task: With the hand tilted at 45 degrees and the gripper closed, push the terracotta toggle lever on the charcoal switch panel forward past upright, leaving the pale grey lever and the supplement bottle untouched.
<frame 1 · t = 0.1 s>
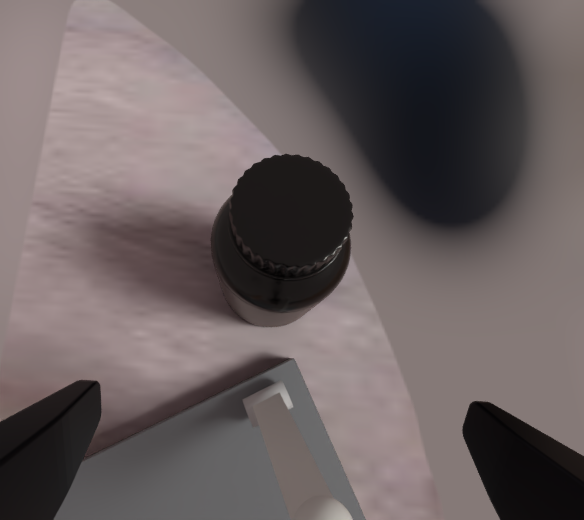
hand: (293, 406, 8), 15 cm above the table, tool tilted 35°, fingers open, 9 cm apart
supplement bottle: (270, 279, 24), on the table
pale grey lever: (289, 454, 15), point 7 cm above the table, hinge at -25.0°
switch panel: (209, 499, 20), on the table
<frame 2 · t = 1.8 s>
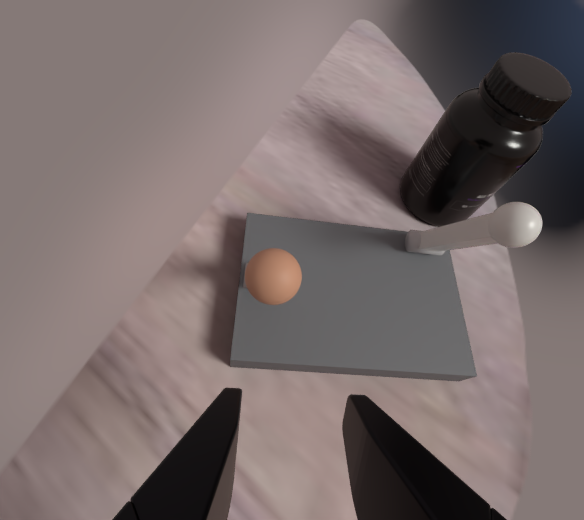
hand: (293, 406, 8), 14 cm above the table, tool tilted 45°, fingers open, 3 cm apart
supplement bottle: (432, 199, 31), on the table
terracotta lever: (267, 276, 17), point 7 cm above the table, hinge at -25.0°
pale grey lever: (462, 235, 20), point 7 cm above the table, hinge at -25.0°
switch panel: (345, 299, 25), on the table
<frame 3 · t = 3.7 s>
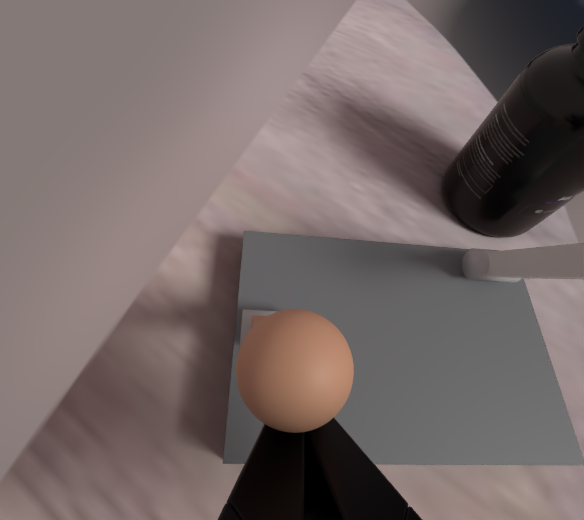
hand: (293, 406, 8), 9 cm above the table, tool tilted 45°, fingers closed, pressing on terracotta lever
supplement bottle: (483, 201, 24), on the table
terracotta lever: (277, 341, 10), point 7 cm above the table, hinge at -20.8°, touching gripper
pale grey lever: (568, 262, 14), point 7 cm above the table, hinge at -25.0°
switch panel: (383, 346, 18), on the table
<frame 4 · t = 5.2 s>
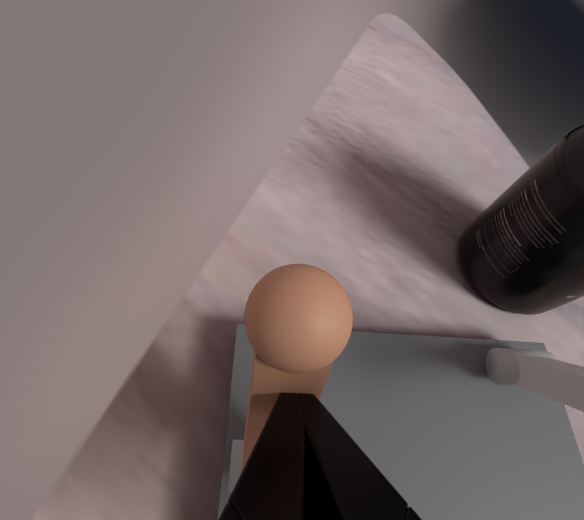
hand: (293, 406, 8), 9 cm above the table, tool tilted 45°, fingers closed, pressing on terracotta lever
supplement bottle: (502, 267, 22), on the table
terracotta lever: (277, 409, 10), point 7 cm above the table, hinge at 21.3°, touching gripper
switch panel: (394, 457, 16), on the table
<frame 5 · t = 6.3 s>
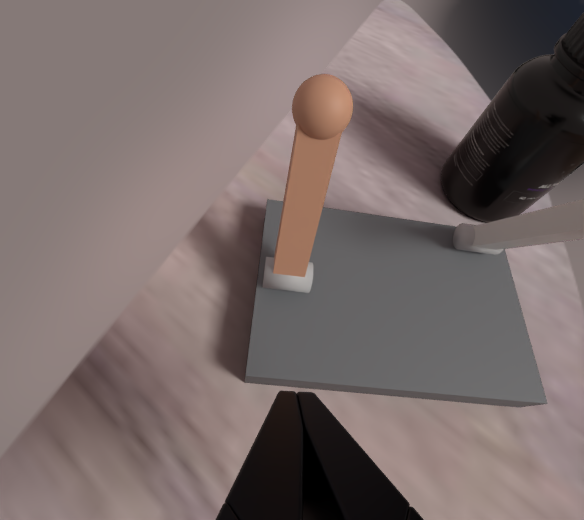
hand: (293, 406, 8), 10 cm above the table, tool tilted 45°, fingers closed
supplement bottle: (476, 192, 27), on the table
terracotta lever: (302, 203, 15), point 7 cm above the table, hinge at 21.5°
pale grey lever: (536, 228, 16), point 7 cm above the table, hinge at -25.0°
switch panel: (381, 304, 21), on the table
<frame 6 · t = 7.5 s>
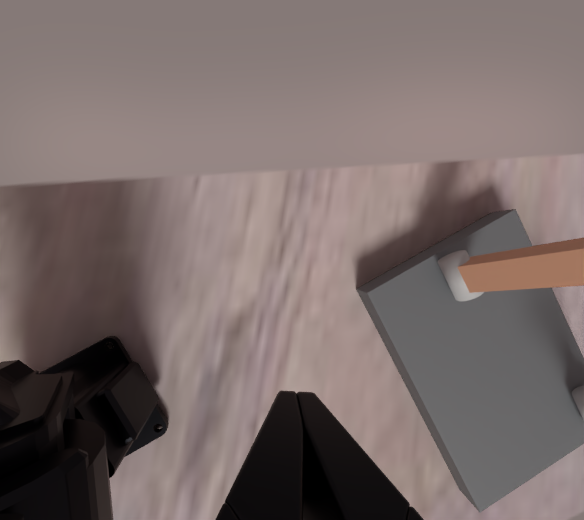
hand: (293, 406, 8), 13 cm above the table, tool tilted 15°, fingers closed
terracotta lever: (544, 265, 15), point 7 cm above the table, hinge at 21.5°
switch panel: (475, 352, 23), on the table
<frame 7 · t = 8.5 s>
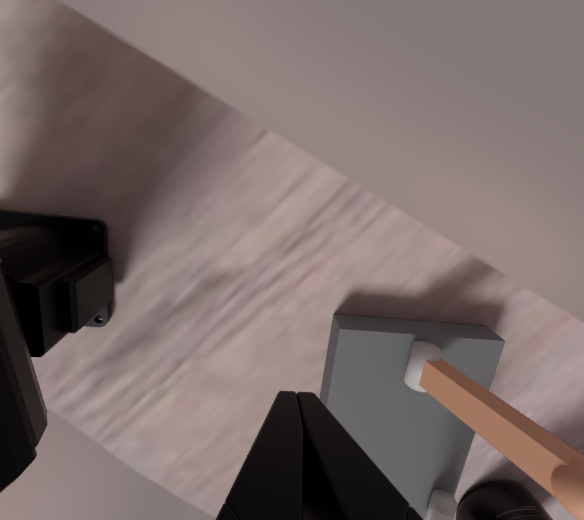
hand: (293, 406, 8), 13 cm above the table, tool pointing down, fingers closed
supplement bottle: (490, 506, 28), on the table
terracotta lever: (489, 416, 16), point 7 cm above the table, hinge at 21.5°
switch panel: (388, 416, 25), on the table
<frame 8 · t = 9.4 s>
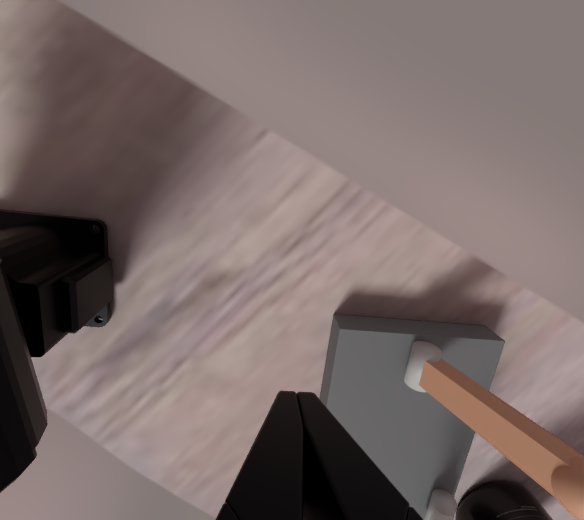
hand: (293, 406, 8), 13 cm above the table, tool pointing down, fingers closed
supplement bottle: (490, 506, 28), on the table
terracotta lever: (489, 416, 16), point 7 cm above the table, hinge at 21.5°
switch panel: (388, 416, 25), on the table
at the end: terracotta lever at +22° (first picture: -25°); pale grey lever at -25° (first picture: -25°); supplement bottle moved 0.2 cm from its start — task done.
